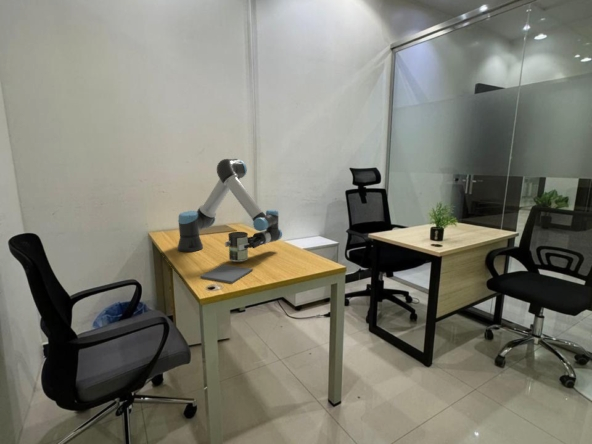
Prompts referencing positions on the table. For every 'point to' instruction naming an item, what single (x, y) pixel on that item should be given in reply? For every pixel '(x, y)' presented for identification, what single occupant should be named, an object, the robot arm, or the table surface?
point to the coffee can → (237, 246)
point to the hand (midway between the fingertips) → (232, 246)
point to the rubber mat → (226, 273)
